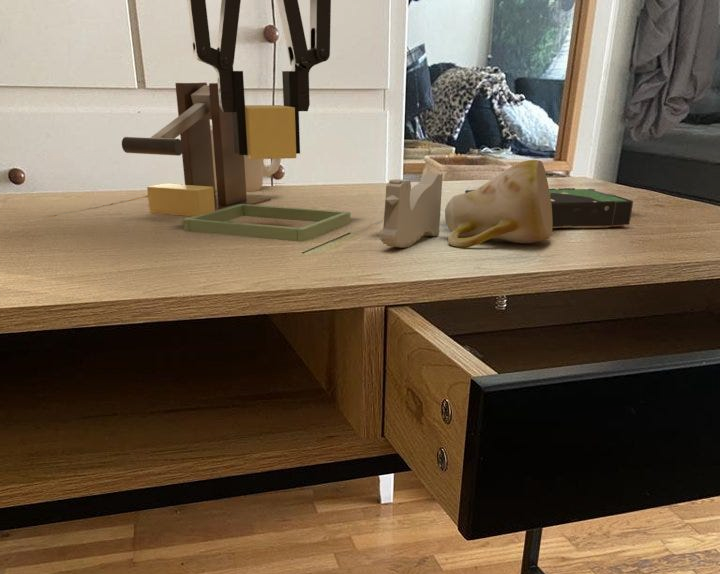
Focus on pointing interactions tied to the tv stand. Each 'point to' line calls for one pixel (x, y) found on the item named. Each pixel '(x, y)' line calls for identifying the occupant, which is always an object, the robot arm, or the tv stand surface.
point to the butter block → (181, 199)
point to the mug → (503, 208)
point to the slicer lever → (172, 129)
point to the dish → (217, 225)
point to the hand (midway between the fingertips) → (267, 152)
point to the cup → (251, 170)
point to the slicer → (200, 151)
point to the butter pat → (270, 131)
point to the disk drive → (588, 208)
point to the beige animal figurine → (411, 210)
